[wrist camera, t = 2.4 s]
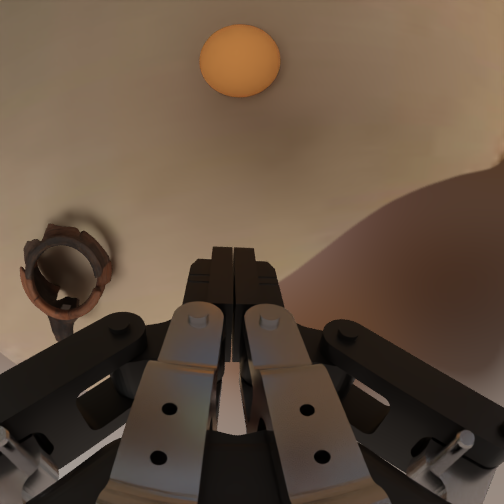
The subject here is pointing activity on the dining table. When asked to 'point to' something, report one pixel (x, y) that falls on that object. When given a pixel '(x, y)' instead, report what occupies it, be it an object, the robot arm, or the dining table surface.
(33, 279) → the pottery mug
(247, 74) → the ball
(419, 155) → the dining table surface
